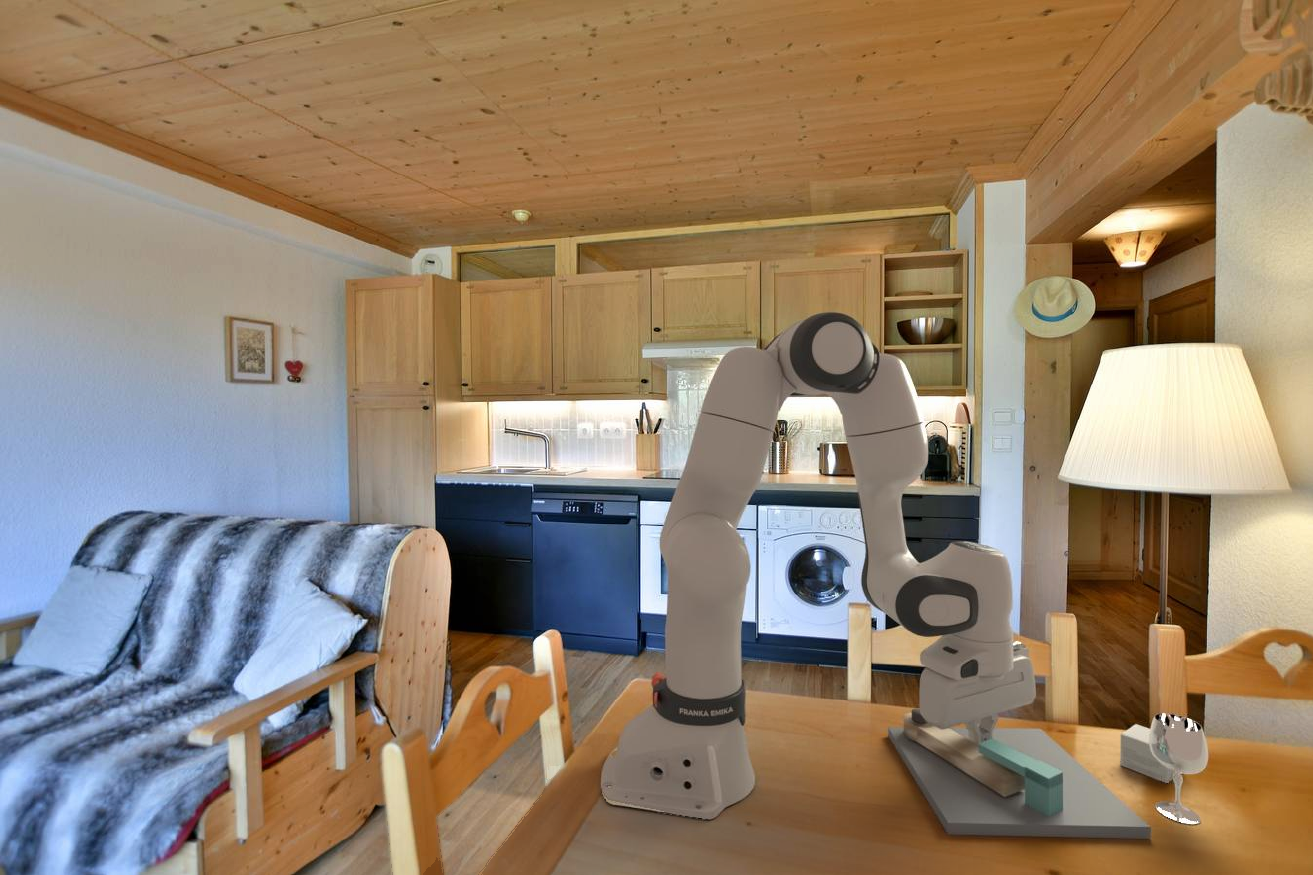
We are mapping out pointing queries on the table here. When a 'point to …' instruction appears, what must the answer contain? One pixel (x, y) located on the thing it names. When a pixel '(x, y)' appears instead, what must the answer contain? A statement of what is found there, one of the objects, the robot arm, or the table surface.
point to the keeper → (1030, 776)
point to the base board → (1018, 794)
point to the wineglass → (1178, 758)
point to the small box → (1141, 754)
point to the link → (962, 754)
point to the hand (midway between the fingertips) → (980, 742)
